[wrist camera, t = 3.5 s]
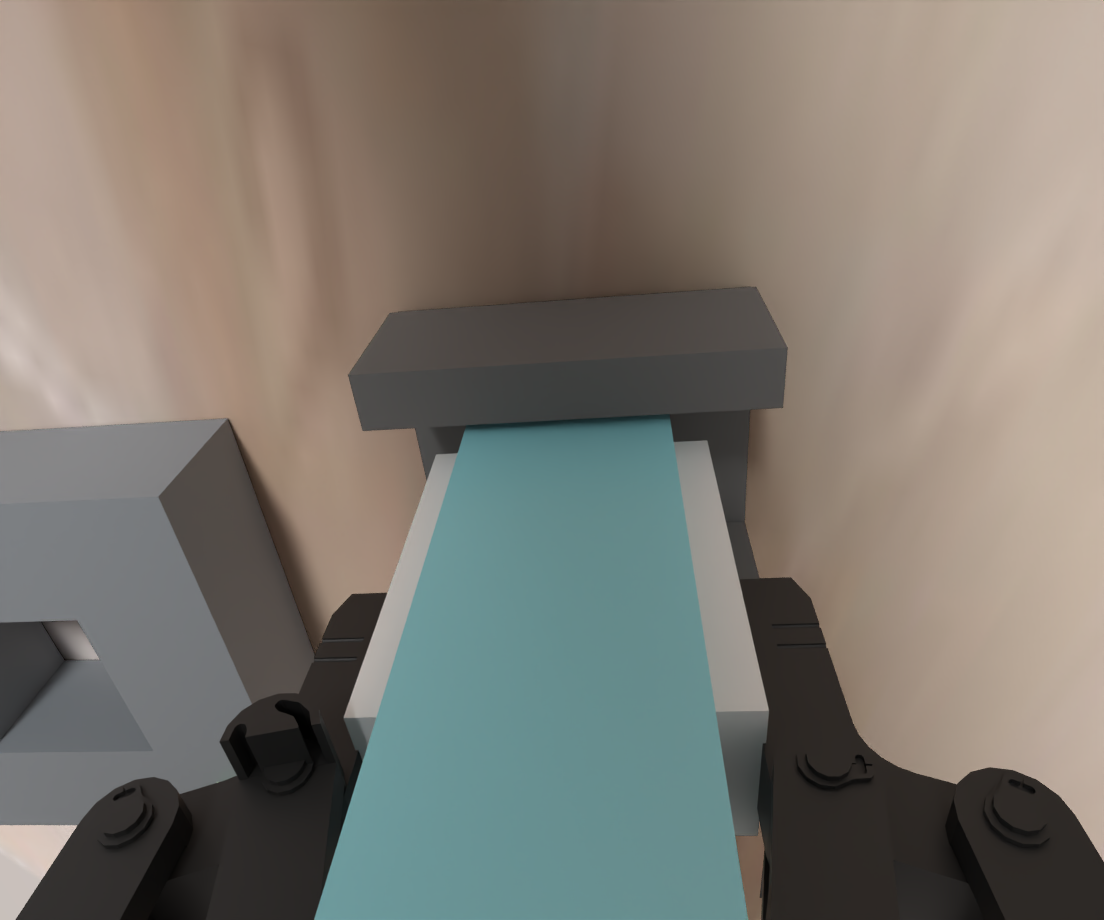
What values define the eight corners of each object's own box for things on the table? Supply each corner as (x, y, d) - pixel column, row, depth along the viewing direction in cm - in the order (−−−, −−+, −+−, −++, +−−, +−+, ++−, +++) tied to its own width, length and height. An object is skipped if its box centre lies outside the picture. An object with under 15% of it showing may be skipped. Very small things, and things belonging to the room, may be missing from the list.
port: (-192, 442, 20) (-357, 535, 17) (227, 418, 19) (143, 513, 16) (16, 732, 27) (-73, 843, 23) (341, 727, 25) (299, 844, 22)
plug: (479, 383, 16) (279, 1031, 6) (662, 372, 16) (767, 1044, 6) (502, 528, 18) (382, 1185, 8) (665, 521, 18) (746, 1201, 8)
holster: (396, 303, 17) (347, 375, 14) (751, 277, 16) (787, 348, 13) (450, 554, 21) (422, 656, 18) (738, 544, 20) (764, 648, 17)
